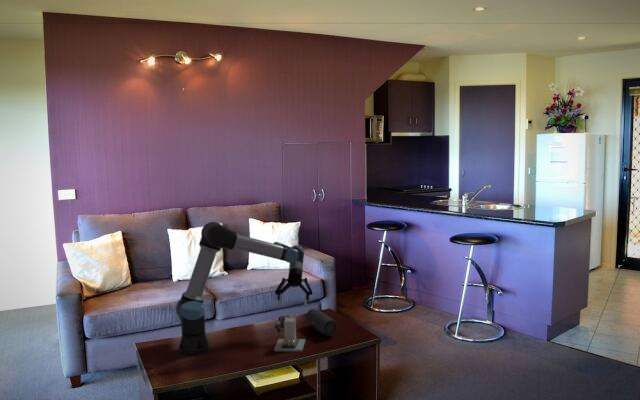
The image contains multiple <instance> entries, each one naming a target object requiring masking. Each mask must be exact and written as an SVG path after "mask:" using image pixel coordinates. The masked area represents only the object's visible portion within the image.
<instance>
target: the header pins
mask: <svg viewBox="0 0 640 400" xmlns="http://www.w3.org/2000/svg"><path fill="white" fill-rule="evenodd" d="M281 348H296V346H294V340H292V346H290V340H287V346H285V340H283V345H282V347H281Z"/></svg>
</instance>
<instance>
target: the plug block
mask: <svg viewBox="0 0 640 400" xmlns="http://www.w3.org/2000/svg"><path fill="white" fill-rule="evenodd" d="M296 318H297V317H290V318H286V319H285V321H284V327H283V328H284V329H283V330H284V339H285V345H287V340H290V345H292V340H294V345H295V342H296V339H297V321H296V320H297V319H296Z"/></svg>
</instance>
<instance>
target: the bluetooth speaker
mask: <svg viewBox="0 0 640 400" xmlns="http://www.w3.org/2000/svg"><path fill="white" fill-rule="evenodd" d="M305 319H306V320H307V322H308V324H310V325H311V326H312V327H313V328H315V330H316V331H317V332H319V333H320V334H322V335H325V336H333V335H334V334H335V333H336V332H337V329H338V326H337V325H338V324H337V322H336V321H335V320H334V319H333V318H331V317H330V316H329V315H327V314H326V313H325V312H322V311H320V310H318V309H315V308H311V309H309V310H308V311H307V313H306V316H305Z"/></svg>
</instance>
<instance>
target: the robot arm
mask: <svg viewBox="0 0 640 400" xmlns="http://www.w3.org/2000/svg"><path fill="white" fill-rule="evenodd" d="M200 236H201V237H200V240H199V243H198V245H199V247H200V249H199V251H198V254H197V259H196V261H195V264H194V267H193V271H192V274H191V276H190V279H189V282H188V285H187V289H186V290H185V291H184V292H183V293H182V294H181V297H180V298H179V300H178V302H177V304H176V305H175V306H176V307H175V311H176V315H177V317H178V318H179V320H180V324H181V325H180V326H181V328H180V329H181V338H180V342H179V345H178V352H179V354H182V355H185V356H196V355H200V354H203V353H206V352H208V351H209V350H210V348H211V346H210V344H211V343H210V341H209V339H208V336H207V334H206V317H205V315H206V314H205V312H206V311H205V310H206V309H205V305H204V304H203V303H204V301H205V298H204V297H203V295H204V291H205V289H206V284H207V283H208V279H209V276H210V273H211V271H212V268H213V265H214V261H215V258H216V255H217V253H219V252H221V250H222V249H225V250H230V251H233V250H238V251H242V252H246V253H249V254H250V253H251V254H255V255H259V256H264V257H267V258H272V259H276V260H280V261H283V262H286V263H289V265H288V267H289V268H288V277H287V278H285V277H282V279H281V281H280V283H279V284H278V285H277V287H276V289H275V291H274V294H275V295H276V296H277V301H278V306H279V308H281V307H282V299H283V294H284V293H285V292H286V291H287V290H288V289H289V288H293V287H294V288H298V287H299V288H300V289H301V290H302V292H303V293H304V308H307V304H308V303H307V302H308V301H310V295H311V296H312V295H313V294H314V293H313V291H312V290H313V289H312V288H311V286H310V284H309V281H308V278H307V277H305V278H303V271H304V270H303V266H304V256H305V248H304V247H303V246H301V245H298V244H296V245H292V246H290V245H287V244H284V243H282V242H279V241H274V242H269V241H265V240H261V239H257V238H254V237H249V236H246V235H241V234H239V233H238V232H237V231H234V230H231V229H229V228H227V227H226V226H224V225H222V224H221V223H219V222H216V221H210V222H207V223H205V225H203V227H202V228H201V233H200ZM303 283H304V284H305V285H306V287H305V286H304V285H303Z"/></svg>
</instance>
